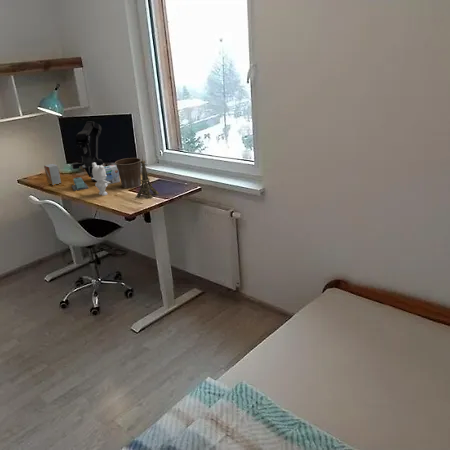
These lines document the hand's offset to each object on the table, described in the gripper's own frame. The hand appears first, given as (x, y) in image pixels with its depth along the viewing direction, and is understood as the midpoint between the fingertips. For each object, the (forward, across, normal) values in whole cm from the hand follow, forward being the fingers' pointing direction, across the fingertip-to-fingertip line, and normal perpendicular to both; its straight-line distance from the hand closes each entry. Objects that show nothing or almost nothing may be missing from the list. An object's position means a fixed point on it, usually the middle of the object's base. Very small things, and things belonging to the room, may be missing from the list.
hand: (89, 176), depth 298 cm
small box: (+7, -21, +22) cm, 31 cm away
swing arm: (+5, -7, +3) cm, 9 cm away
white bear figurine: (+6, +3, -23) cm, 24 cm away
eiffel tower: (+6, +26, -42) cm, 50 cm away
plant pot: (+7, +23, -15) cm, 28 cm away
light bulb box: (+7, +13, +1) cm, 15 cm away
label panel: (+6, -7, +1) cm, 10 cm away
